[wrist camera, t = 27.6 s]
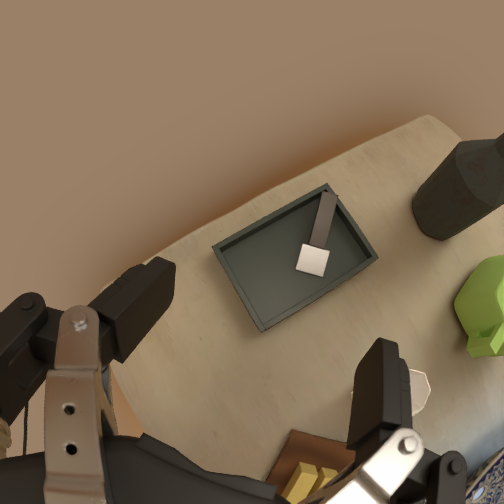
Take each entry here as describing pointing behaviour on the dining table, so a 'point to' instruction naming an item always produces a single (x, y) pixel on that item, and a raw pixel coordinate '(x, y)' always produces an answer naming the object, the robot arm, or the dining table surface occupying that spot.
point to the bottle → (462, 188)
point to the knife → (318, 237)
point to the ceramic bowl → (488, 481)
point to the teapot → (483, 308)
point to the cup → (417, 390)
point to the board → (308, 457)
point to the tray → (290, 259)
